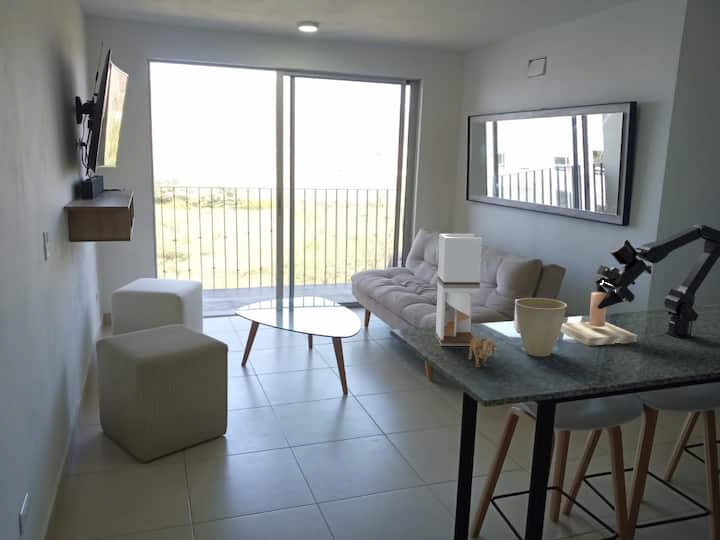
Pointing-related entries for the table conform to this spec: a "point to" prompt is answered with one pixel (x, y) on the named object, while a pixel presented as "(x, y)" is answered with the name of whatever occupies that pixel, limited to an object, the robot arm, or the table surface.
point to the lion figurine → (481, 349)
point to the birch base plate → (597, 333)
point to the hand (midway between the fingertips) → (594, 306)
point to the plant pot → (539, 324)
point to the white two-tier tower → (457, 287)
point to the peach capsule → (597, 310)
